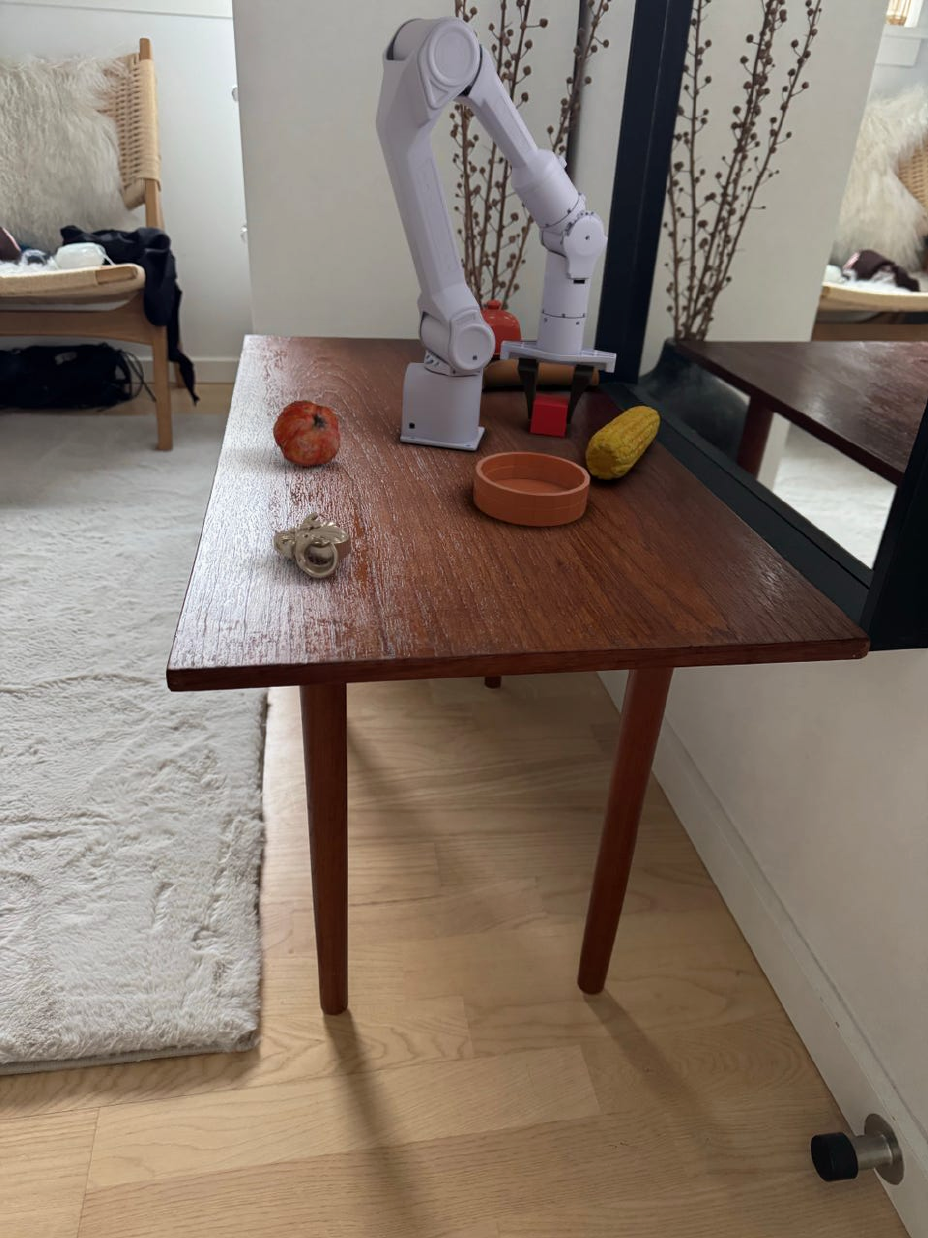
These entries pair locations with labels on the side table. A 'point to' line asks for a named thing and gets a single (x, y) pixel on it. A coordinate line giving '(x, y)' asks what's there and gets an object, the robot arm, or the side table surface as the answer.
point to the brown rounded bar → (547, 375)
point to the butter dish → (501, 325)
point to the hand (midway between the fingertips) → (549, 419)
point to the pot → (530, 488)
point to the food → (621, 442)
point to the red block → (549, 415)
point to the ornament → (314, 545)
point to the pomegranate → (307, 433)
